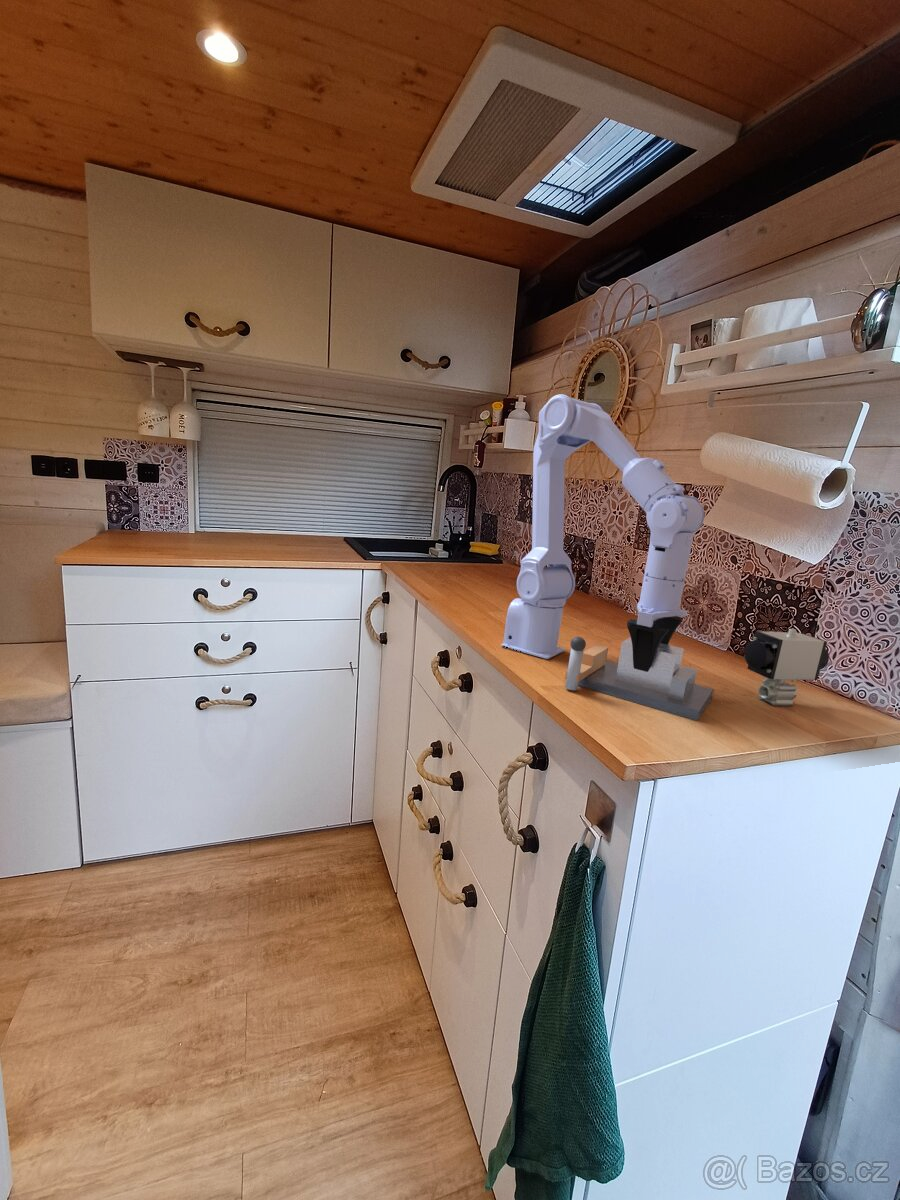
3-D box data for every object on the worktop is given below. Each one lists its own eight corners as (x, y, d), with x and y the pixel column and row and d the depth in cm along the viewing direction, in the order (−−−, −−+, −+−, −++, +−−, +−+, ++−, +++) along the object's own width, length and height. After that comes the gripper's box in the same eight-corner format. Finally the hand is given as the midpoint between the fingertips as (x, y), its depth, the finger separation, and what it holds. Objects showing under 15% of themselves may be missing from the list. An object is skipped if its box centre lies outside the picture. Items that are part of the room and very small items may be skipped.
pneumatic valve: (817, 708, 87) (836, 635, 84) (755, 708, 84) (773, 632, 82) (789, 694, 92) (806, 625, 90) (729, 694, 89) (745, 622, 87)
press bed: (567, 682, 87) (572, 655, 86) (594, 666, 97) (598, 641, 96) (697, 720, 77) (703, 690, 76) (711, 698, 87) (717, 670, 86)
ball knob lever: (561, 687, 83) (569, 636, 81) (592, 668, 94) (599, 622, 92) (575, 692, 82) (583, 640, 80) (604, 671, 93) (612, 625, 91)
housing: (615, 679, 86) (622, 640, 85) (624, 671, 90) (631, 634, 89) (668, 694, 82) (677, 653, 80) (676, 685, 86) (684, 647, 85)
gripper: (682, 587, 75) (663, 682, 77) (701, 578, 86) (684, 661, 89) (629, 577, 78) (613, 669, 81) (655, 570, 90) (640, 650, 93)
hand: (647, 664), depth 85 cm, fingers open, 7 cm apart
